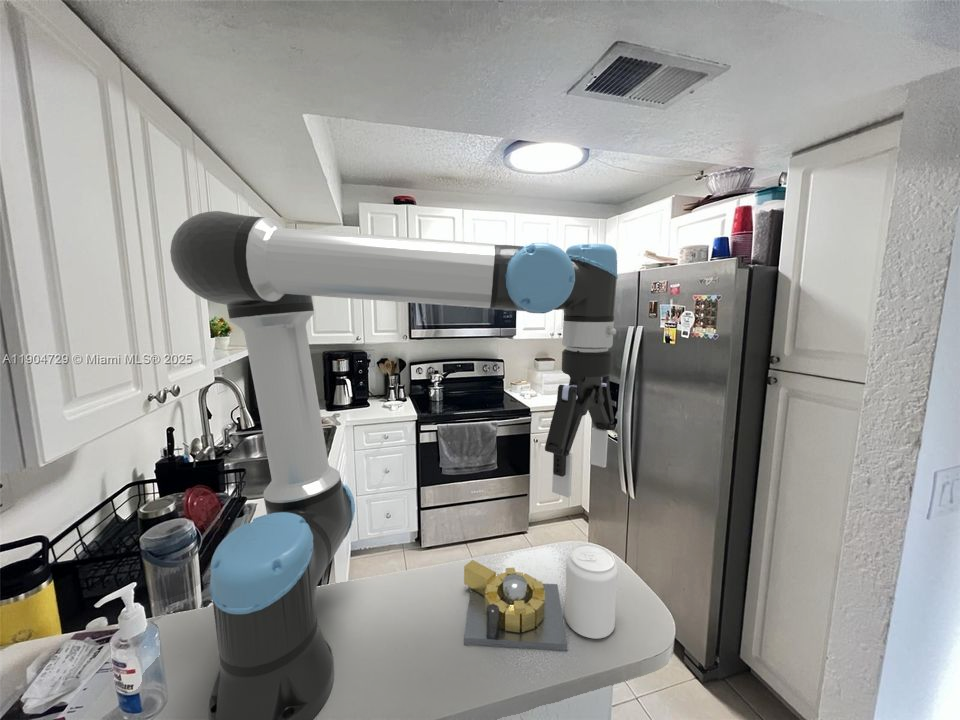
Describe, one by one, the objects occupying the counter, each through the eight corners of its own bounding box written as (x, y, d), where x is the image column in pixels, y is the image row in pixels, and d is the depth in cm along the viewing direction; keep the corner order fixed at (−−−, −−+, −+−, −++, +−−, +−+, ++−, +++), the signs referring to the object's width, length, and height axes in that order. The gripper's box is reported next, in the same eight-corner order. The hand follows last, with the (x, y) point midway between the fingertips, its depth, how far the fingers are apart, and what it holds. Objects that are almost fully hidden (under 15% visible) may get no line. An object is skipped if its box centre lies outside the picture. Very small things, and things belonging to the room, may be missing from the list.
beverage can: (617, 646, 61) (621, 576, 60) (564, 637, 63) (567, 569, 61) (611, 607, 69) (614, 544, 67) (564, 600, 71) (566, 539, 69)
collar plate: (464, 644, 62) (463, 609, 61) (471, 585, 75) (471, 555, 74) (567, 651, 60) (568, 615, 60) (557, 589, 73) (558, 559, 72)
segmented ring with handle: (554, 604, 68) (555, 583, 67) (523, 642, 60) (523, 619, 60) (485, 566, 78) (485, 548, 77) (450, 595, 70) (449, 575, 69)
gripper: (573, 360, 49) (566, 518, 52) (637, 344, 68) (630, 460, 71) (522, 354, 54) (519, 500, 57) (596, 341, 73) (591, 450, 76)
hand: (581, 478), depth 64 cm, fingers open, 13 cm apart
